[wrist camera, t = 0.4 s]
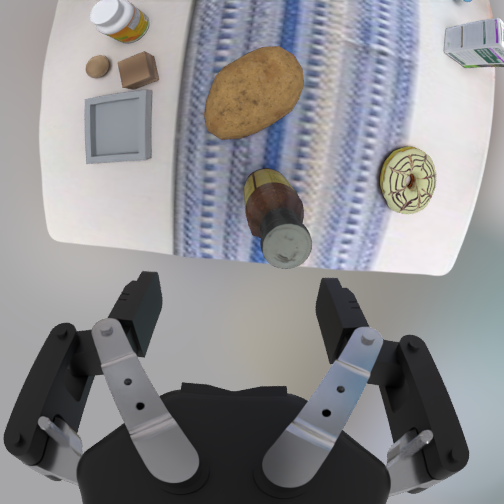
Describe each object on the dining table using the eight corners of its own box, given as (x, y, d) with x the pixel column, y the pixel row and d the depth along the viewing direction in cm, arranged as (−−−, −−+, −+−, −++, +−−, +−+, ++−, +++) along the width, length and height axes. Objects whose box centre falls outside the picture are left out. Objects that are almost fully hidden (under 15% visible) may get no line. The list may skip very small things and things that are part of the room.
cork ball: (94, 59, 28) (82, 56, 25) (113, 55, 28) (102, 51, 25) (92, 80, 30) (80, 79, 26) (112, 76, 30) (100, 74, 27)
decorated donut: (383, 217, 42) (393, 226, 38) (368, 156, 37) (378, 160, 33) (431, 197, 40) (443, 205, 36) (420, 138, 35) (433, 142, 32)
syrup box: (442, 52, 27) (501, 46, 14) (444, 27, 24) (500, 16, 11) (464, 68, 27) (522, 69, 15) (466, 43, 25) (521, 40, 12)
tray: (93, 99, 31) (84, 99, 29) (152, 90, 32) (146, 89, 29) (94, 160, 36) (86, 164, 34) (151, 157, 36) (145, 160, 34)
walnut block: (129, 66, 29) (117, 62, 26) (154, 56, 29) (144, 51, 26) (134, 89, 31) (122, 87, 28) (159, 80, 31) (149, 76, 27)
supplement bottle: (111, 41, 27) (78, 28, 18) (125, 12, 25) (96, -7, 16) (141, 45, 28) (111, 30, 19) (155, 15, 26) (131, -8, 17)
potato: (190, 109, 33) (175, 108, 26) (262, 41, 29) (265, 23, 22) (241, 154, 37) (239, 164, 30) (313, 88, 32) (329, 82, 25)
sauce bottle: (260, 215, 41) (270, 298, 24) (235, 183, 39) (224, 246, 21) (297, 190, 39) (336, 258, 22) (272, 156, 37) (296, 197, 19)
